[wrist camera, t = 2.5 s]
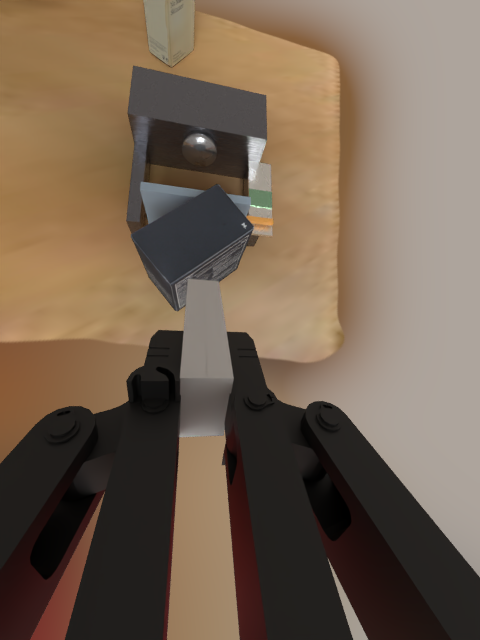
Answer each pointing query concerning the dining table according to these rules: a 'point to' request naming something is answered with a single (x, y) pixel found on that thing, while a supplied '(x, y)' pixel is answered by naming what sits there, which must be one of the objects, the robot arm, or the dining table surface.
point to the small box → (193, 243)
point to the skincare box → (170, 28)
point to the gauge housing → (198, 137)
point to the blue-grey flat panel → (184, 201)
